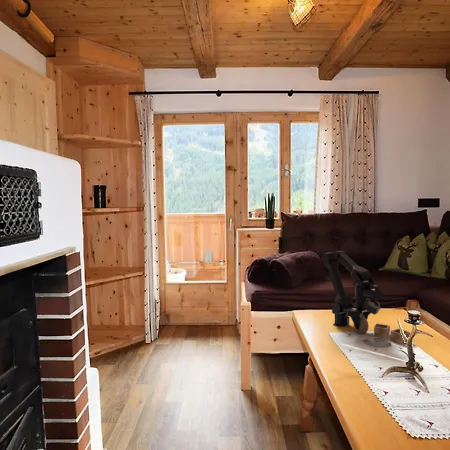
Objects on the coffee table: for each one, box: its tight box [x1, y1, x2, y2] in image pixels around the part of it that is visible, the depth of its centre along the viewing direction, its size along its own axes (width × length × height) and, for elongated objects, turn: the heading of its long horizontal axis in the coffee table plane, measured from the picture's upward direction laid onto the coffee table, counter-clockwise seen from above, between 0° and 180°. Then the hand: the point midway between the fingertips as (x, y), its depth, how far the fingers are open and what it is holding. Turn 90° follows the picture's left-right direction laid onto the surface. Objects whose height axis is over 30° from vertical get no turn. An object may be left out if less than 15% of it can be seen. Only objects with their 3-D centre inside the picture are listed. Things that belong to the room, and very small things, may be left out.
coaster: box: [362, 337, 392, 349], centre depth 173 cm, size 12×12×1 cm
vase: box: [353, 315, 370, 335], centre depth 186 cm, size 7×7×9 cm
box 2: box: [389, 328, 411, 345], centre depth 174 cm, size 6×6×5 cm
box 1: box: [373, 323, 391, 339], centre depth 182 cm, size 6×6×5 cm
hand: (360, 327), depth 186 cm, fingers closed on vase, 7 cm apart
